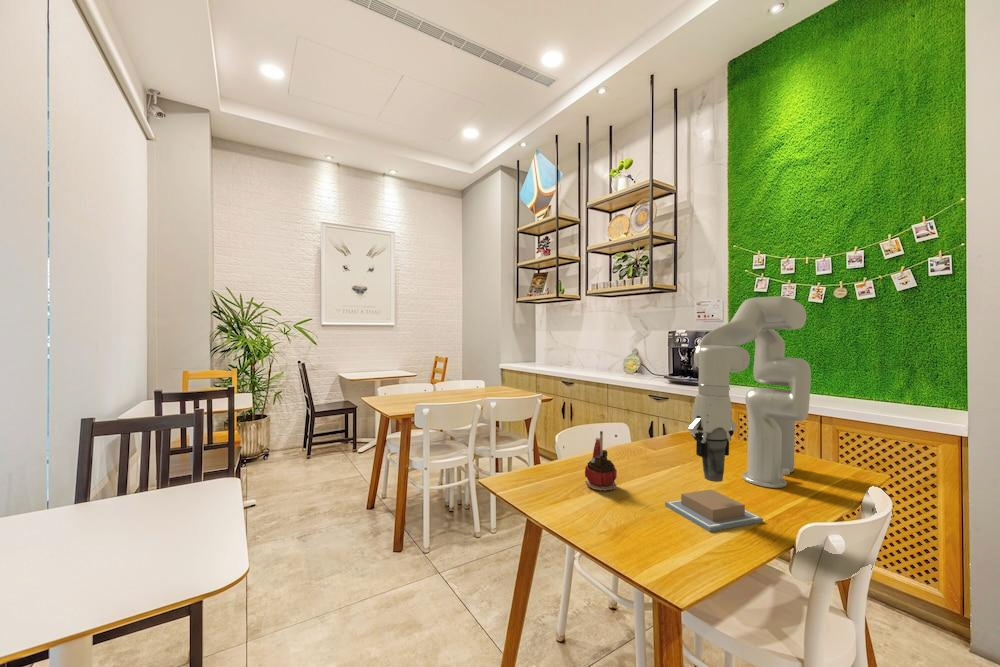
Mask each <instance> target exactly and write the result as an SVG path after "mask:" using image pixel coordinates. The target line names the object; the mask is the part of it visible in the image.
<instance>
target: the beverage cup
mask: <svg viewBox="0 0 1000 667" xmlns="http://www.w3.org/2000/svg"><path fill="white" fill-rule="evenodd" d="M702 431H703V429H702ZM702 436H703V433H701V437H702ZM727 440H728V438H727V434H726V431H725V430H724V429H723V428H716V429H715V430H713V432H712V433H709V434H708V437H707V439H706V442H705V443H707V458H703V457H701V460H702V468H703V469H702V470H703V475H704V479H705V480H707V481H709V482H714V483H715V482H716V483H720V482H723V480H724V479H723V478H724V473H725V472H724V471H725V460H726V459H725V458H726V455H725V449H726V445H727Z"/></svg>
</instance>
